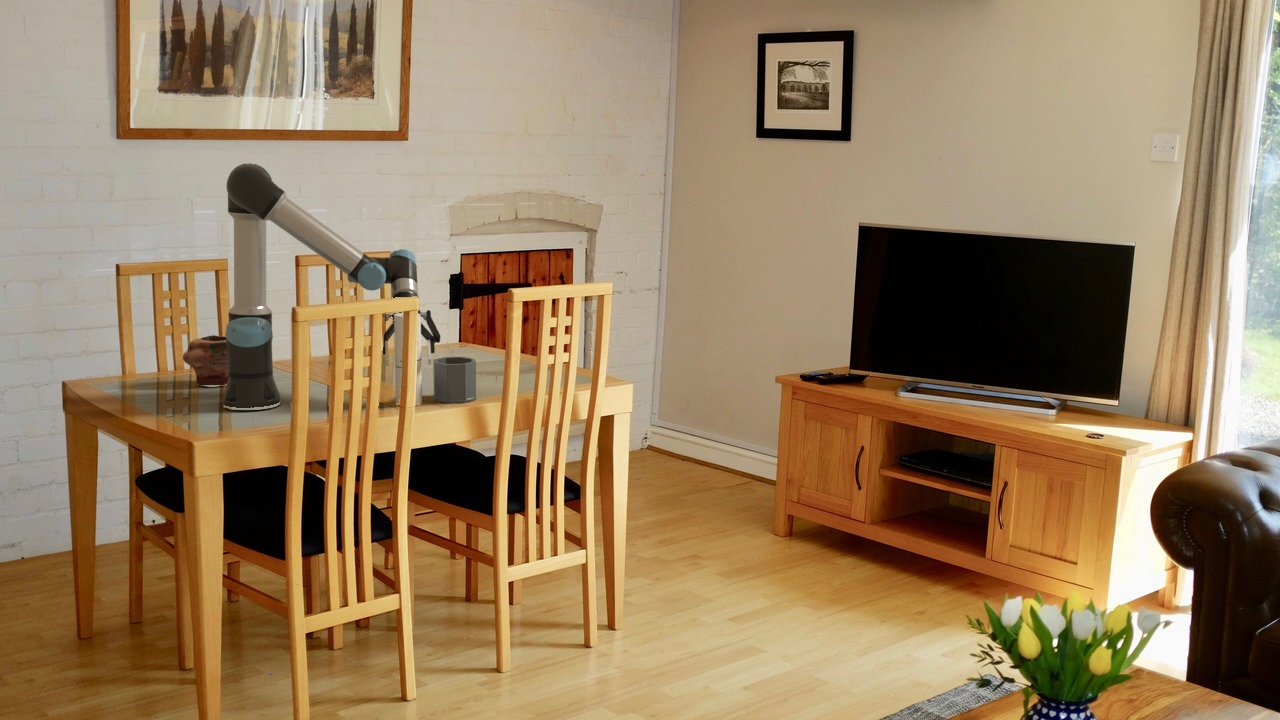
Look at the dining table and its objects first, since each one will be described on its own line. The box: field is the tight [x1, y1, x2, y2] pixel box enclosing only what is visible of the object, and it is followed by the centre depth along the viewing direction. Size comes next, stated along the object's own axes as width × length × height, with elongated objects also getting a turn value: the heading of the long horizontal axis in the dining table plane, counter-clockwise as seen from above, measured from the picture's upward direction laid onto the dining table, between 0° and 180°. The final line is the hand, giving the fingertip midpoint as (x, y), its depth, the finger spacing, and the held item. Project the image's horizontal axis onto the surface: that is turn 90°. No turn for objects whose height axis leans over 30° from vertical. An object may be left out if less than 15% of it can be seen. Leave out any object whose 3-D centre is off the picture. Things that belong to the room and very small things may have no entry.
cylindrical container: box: [393, 313, 423, 405], centre depth 339 cm, size 7×7×25 cm
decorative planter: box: [182, 334, 228, 386], centre depth 361 cm, size 20×12×14 cm, turn 121°
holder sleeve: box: [432, 356, 477, 404], centre depth 348 cm, size 12×12×11 cm
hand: (408, 362), depth 337 cm, fingers open, 11 cm apart
